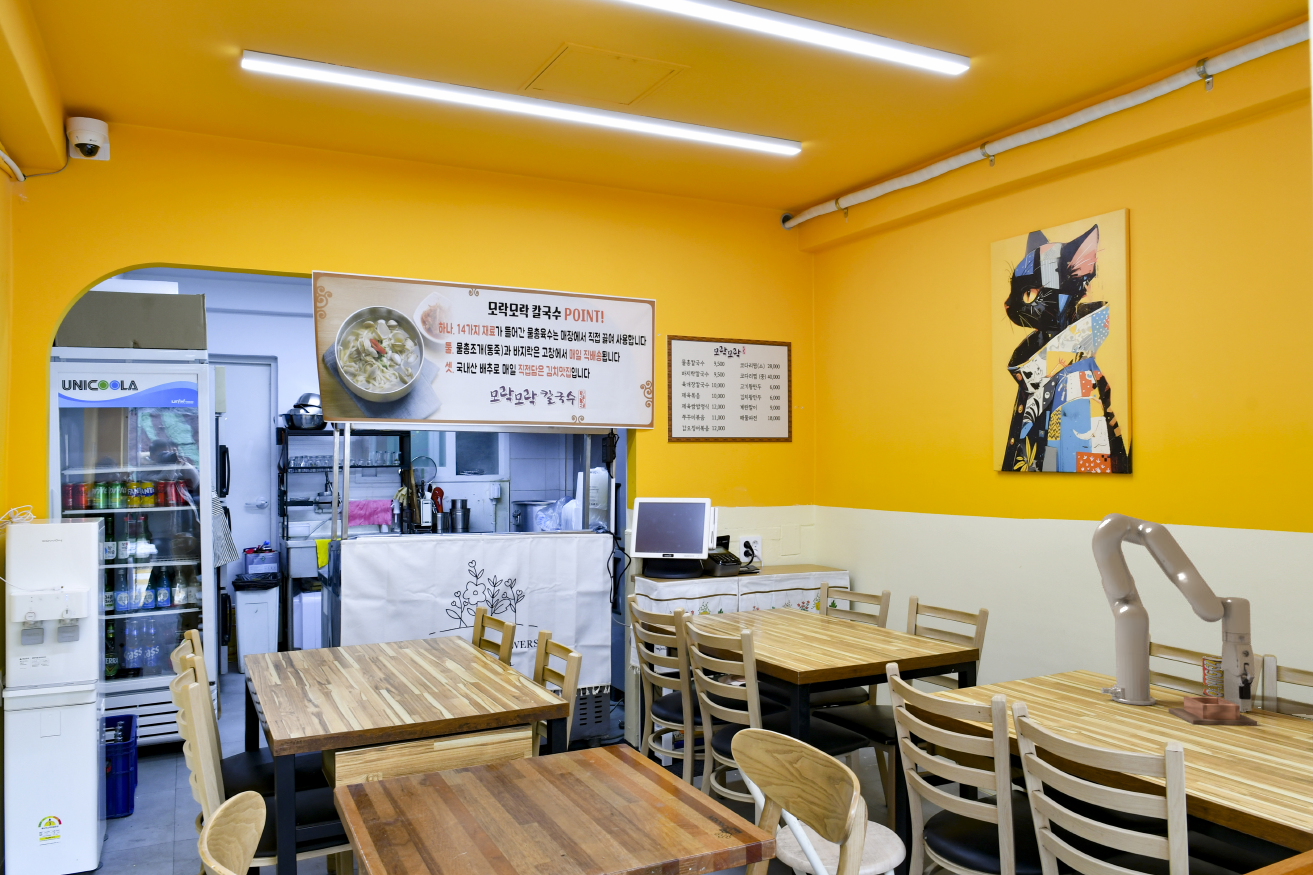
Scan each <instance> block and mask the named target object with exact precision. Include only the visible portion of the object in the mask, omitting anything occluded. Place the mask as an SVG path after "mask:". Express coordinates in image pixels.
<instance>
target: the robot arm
mask: <svg viewBox="0 0 1313 875" xmlns="http://www.w3.org/2000/svg"><path fill="white" fill-rule="evenodd" d="M1122 542H1126V543H1131V544H1134V545H1139V546H1142V547H1144V548H1145V549H1146V550H1147V552H1148V553H1149V554H1150V556H1151V557H1152V558H1153V559H1154V561H1155V562H1156V564H1157V565H1158V566H1159V568H1160V569H1161V571H1162V572H1163V574H1164V575H1165V576H1166V577H1167V578H1168V580H1169V581H1170V582H1171V583H1172V584H1173V585H1174V586H1175V587H1176V588H1177V589H1178V590H1179V591H1180V593H1181V594H1182V595H1183V597H1184V598H1185V599H1186V600H1187V602H1188V603H1189V605H1190V606H1191V608H1192V611H1193V612H1194V614H1195V615H1196V616H1197V617H1198V618H1199V619H1201V620H1202V621H1204V622H1206V623H1216V622H1219V621H1220V620H1221V641H1222V646H1221V657H1222V664H1221V665H1220V666H1221V669H1222V673H1223V675H1224V669H1227V670H1229V671H1230V673H1231V674H1233V675H1235V676H1237V677H1238V679H1239V682H1240V685H1241V686H1239V699H1246V700H1250V699H1251V700H1252V686H1253V685H1252V684H1253V683H1254V682H1253V681H1254V679H1255V676H1256V672H1255V671H1256V670H1255V669H1256V668H1255V658H1254V652H1253V647H1252V640H1251V639H1252V635H1251V634H1252V633H1251V630H1252V629H1251V604H1250V601H1249V600H1248V599H1246V598H1243V597H1236V596H1235V597H1234V596H1232V597H1231V596H1229V597H1228V596H1227V597H1222V596H1217V595H1216V594H1215V592H1214V591H1213V590H1212V588H1211V587H1210V586H1209V585H1208V583H1207V581H1205V579H1204V578H1203V576H1202V575H1201V574H1200V572H1199V570H1198V569H1197V567H1196V566H1195V565H1194V563H1193V562H1192V560H1191V559H1190V558H1189V556H1188V555H1187V554H1186V553H1185V551H1184V550H1183V548H1182V547H1181V546H1180V544H1179V543H1178V542H1177V540H1176V539H1175V538H1174V536H1173V535H1172V533H1171V532H1170V531H1169V530H1168V528H1167V527H1165V525H1163V524H1162V523H1159V522H1154V521H1148V520H1145V519H1144V520H1143V519H1141V518H1137V517H1133V516H1130V515H1125V514H1122V513H1117V512H1113V513H1109V514H1107V515H1105V516H1104V517H1103V518H1102V519H1101V522H1100V524H1098V526H1097V527H1096V529H1095V530H1094V533H1093V535H1092V539H1091V549H1092V554H1093V556H1094V559H1095V563H1096V566H1097V570H1098V572H1099V574H1100V576H1101V577H1100V578H1101V585H1102V588H1103V591H1104V593H1105V596H1106V599H1107V601H1108V604H1109V606H1110V608H1111V612H1112V614H1113V617H1114V624H1115V630H1114V632H1115V634H1114V636H1115V640H1114V641H1115V643H1114V644H1115V668H1116V669H1115V670H1116V671H1115V672H1116V673H1115V675H1116V676H1115V678H1116V683H1115V684H1113V686H1111V687H1107V686H1106V687H1102V686H1101V688H1100V693H1101V694H1102V695H1103V694H1104V695H1107V694H1108V695H1110V696H1111V700H1113V701H1115V702H1118V703H1120V704H1121V703H1122V704H1128V705H1135V706H1151V705H1155V704H1156V703H1157V700H1156V698H1155V697H1153V696H1151V677H1150V676H1151V674H1150V672H1151V671H1150V644H1149V643H1150V640H1149V638H1150V617H1149V613H1148V611H1147V609H1146V607H1144V604H1143V602H1142V600H1141V597H1140V594H1139V592H1138V589H1137V586H1136V583H1135V582H1136V581H1135V579H1134V577H1133V574H1131V571H1130V569H1129V566H1128V563H1127V562H1126V559H1125V555H1124V553H1123V550H1122ZM1242 673H1243V674H1246V676H1245V675H1242ZM1242 678H1246V679H1245V680H1244V681H1243V679H1242ZM1223 679H1224V676H1223Z"/></svg>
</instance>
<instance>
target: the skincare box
mask: <svg viewBox="0 0 1313 875" xmlns="http://www.w3.org/2000/svg"><path fill="white" fill-rule="evenodd" d="M1242 675H1245V676H1246V674H1243V673H1242ZM1242 679H1243V681H1244V680H1245V679H1246V678H1242ZM1239 686H1241V685H1240V682H1239V679H1238V677H1237V676H1235V675H1233V674H1231V673H1230V671H1229V670H1227V669H1224V698H1223V699H1225V700H1228V701H1230V702H1232V703H1235V704H1237V705H1240V713H1247V712H1246V711H1251V712H1252V698H1251V699H1250V700H1246V699H1239Z"/></svg>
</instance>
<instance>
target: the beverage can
mask: <svg viewBox="0 0 1313 875" xmlns="http://www.w3.org/2000/svg"><path fill="white" fill-rule="evenodd" d="M1206 656H1207V655H1205V656H1204V655H1203V656H1202V657H1201V662H1202V663H1201V664H1202V685H1203V684H1204V685H1208V686H1214V687H1217V688H1218V691H1219V688H1220V689H1224V679H1223V676H1224V675H1223V673H1222V670H1220V669H1221V666H1220V665H1221V664H1222V659H1216V658H1212V657H1218V658H1222V656H1219V655H1217V656H1216V655H1211V656H1212V657H1206ZM1211 667H1213V668H1211ZM1214 690H1216V689H1214ZM1214 690H1213V689H1212V690H1211V689H1210V688H1209V689H1203V688H1202V694H1203V695H1204V696H1205V697H1220V698H1223V699H1224V693H1220V692H1218V691H1214Z"/></svg>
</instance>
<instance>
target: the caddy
mask: <svg viewBox="0 0 1313 875" xmlns="http://www.w3.org/2000/svg"><path fill="white" fill-rule="evenodd" d="M1167 709H1168V713H1169V714H1171V715H1173V716H1176V717H1177V718H1179V719H1181V720H1182V721H1186V722H1187V723H1189V724H1192V725H1196V726H1197V725H1198V726H1199V725H1202V726H1203V725H1204V726H1205V725H1206V726H1207V725H1209V726H1213V725H1214V726H1220V725H1219V724H1222V725H1221V726H1258V721H1257V720H1255V719H1253V718H1251V717H1248V716H1247V715H1245V714H1241V712H1240V705H1237V704H1235V703H1232V702H1230V701H1228V700H1225V699H1224V698H1220V697H1210V696H1183V708H1178V707H1177V708H1173V707H1168V708H1167ZM1223 724H1224V725H1223Z"/></svg>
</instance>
